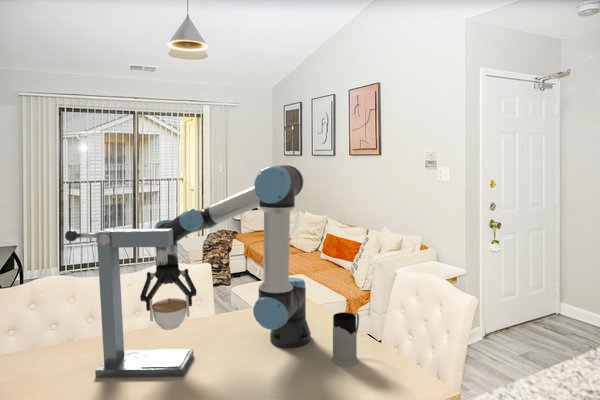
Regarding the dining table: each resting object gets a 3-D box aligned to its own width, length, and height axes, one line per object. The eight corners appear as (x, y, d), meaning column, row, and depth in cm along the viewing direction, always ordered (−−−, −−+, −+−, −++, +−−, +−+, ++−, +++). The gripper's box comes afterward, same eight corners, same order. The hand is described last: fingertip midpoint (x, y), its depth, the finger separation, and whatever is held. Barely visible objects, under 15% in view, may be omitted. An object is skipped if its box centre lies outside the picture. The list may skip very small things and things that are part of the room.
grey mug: (326, 361, 143) (326, 317, 142) (347, 346, 155) (347, 305, 153) (350, 368, 138) (350, 323, 137) (369, 352, 150) (369, 310, 148)
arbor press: (193, 356, 148) (188, 225, 144) (182, 376, 134) (176, 232, 130) (84, 357, 148) (76, 226, 144) (62, 377, 134) (52, 234, 130)
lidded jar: (177, 334, 137) (175, 305, 136) (146, 331, 140) (145, 303, 139) (192, 321, 148) (191, 294, 147) (164, 318, 150) (163, 292, 149)
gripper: (199, 262, 160) (205, 317, 147) (132, 267, 153) (132, 326, 140) (200, 251, 154) (207, 307, 141) (131, 256, 147) (131, 316, 134)
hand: (170, 317), depth 140 cm, fingers closed on lidded jar, 11 cm apart
